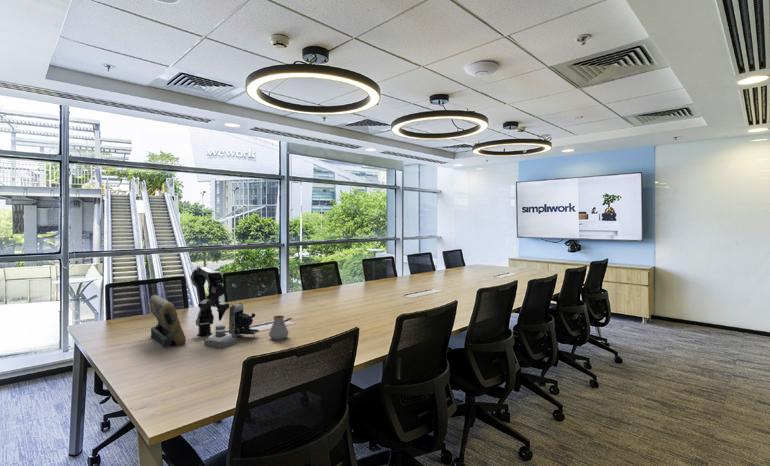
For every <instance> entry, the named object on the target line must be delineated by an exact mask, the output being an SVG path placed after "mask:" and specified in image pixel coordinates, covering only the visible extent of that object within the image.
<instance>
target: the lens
mask: <svg viewBox="0 0 770 466" xmlns="http://www.w3.org/2000/svg"><path fill="white" fill-rule="evenodd" d="M214 332H215V334H216V337H220V338H221V337H224V336H225V333H226V325H224V324H223V325H222V324H221V325H217V326H215V331H214Z"/></svg>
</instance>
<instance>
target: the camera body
mask: <svg viewBox="0 0 770 466" xmlns="http://www.w3.org/2000/svg"><path fill="white" fill-rule="evenodd" d="M237 339H238V338H237V337H235V338H233V337H232V334H229V333H226V332H225V336H224V337H221V338H220V337H216V333H215V334H211V335H210V336H209V335H208V338H205V339H203V345H204V346H207V347H208V346H209V347H214V348H218V349H224V348H228V347H231V346H233V345H235V344H237V343H238V342H237Z"/></svg>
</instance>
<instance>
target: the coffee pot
mask: <svg viewBox="0 0 770 466" xmlns="http://www.w3.org/2000/svg"><path fill="white" fill-rule="evenodd" d="M272 318H273V320H274V321H273V323H272V325H271V327H270V331H269V333H268V335H269V337H270V338H271V339H272V340H276V341H281V340H284V339H286V338H287V337H288V336H289V333H290V332H289V330H288V327H287V326H286V322H289V321H292V320H294V318H293V317H288V318H287V319H284V318H285V316H284V315H275V316H273V317H272Z"/></svg>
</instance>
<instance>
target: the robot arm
mask: <svg viewBox="0 0 770 466" xmlns="http://www.w3.org/2000/svg"><path fill="white" fill-rule="evenodd" d="M190 281H191V283H192V285H193V286H194V288H195V289H196V295H197V300H198V306H197V307H198V308H199V311H198V313H197V318H196V320H195V326H197V327H198V333H196V336H200V337H206V336H209V335H210V336H211V335H213V332H211V329H212V327H211V325H213V324H214V319H215V316H214V314H213V310H212V307H213V308H216V311H217V313H218V321H219V322H220V321H222V319H223V317H224V315H225V313H226V311H227V310H229V309H230V303H228V302H222V301H220V297H221V296H223V295H225V294H226V291H227V290H226V287H225V286H224V285H223V284H224V277H223V276H222V273H221V272H220V271H218V270H215V271H214V270H212V269H210V268H208V267H207V266H199V267H197V268H196V269H195V270H193V271H192V272H191V274H190ZM206 282H207V285H208V287H207V289H208V294H207V293H206V289H205V288H206V287H205V284H206Z"/></svg>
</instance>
